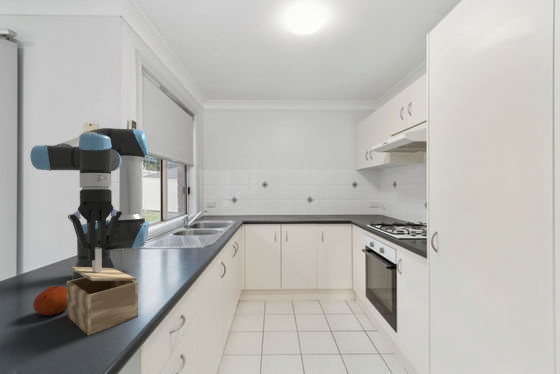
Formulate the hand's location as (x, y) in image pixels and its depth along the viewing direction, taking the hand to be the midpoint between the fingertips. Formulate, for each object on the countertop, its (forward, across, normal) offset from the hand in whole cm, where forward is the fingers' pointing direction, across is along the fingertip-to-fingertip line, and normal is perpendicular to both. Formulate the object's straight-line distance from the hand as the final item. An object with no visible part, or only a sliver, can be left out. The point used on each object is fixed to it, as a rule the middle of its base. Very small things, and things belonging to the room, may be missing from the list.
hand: (97, 270), depth 75 cm
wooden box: (+14, +1, 0) cm, 14 cm away
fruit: (+14, -6, +15) cm, 21 cm away
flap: (+2, +2, 0) cm, 2 cm away
